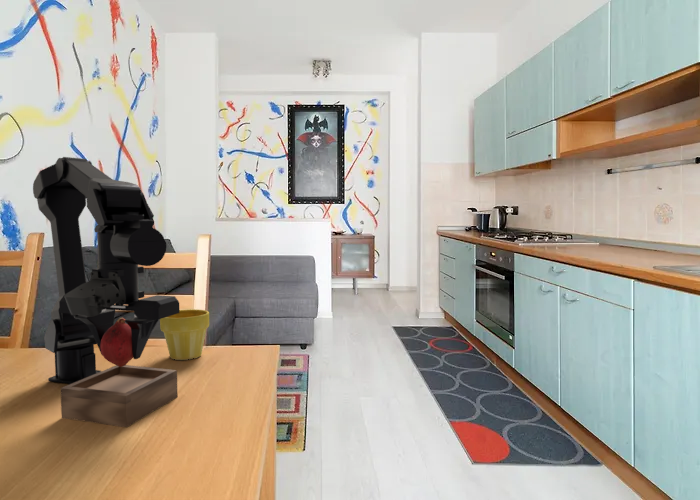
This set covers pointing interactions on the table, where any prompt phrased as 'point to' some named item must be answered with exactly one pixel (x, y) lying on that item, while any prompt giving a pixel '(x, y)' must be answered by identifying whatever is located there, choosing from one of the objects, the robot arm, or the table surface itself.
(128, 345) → the onion
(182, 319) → the plant pot
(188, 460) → the table surface
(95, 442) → the table surface
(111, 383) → the walnut base
